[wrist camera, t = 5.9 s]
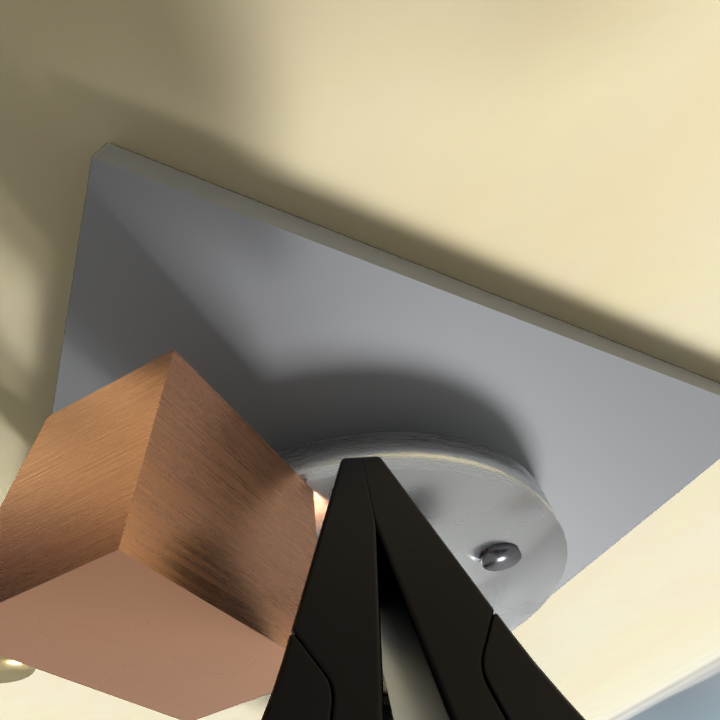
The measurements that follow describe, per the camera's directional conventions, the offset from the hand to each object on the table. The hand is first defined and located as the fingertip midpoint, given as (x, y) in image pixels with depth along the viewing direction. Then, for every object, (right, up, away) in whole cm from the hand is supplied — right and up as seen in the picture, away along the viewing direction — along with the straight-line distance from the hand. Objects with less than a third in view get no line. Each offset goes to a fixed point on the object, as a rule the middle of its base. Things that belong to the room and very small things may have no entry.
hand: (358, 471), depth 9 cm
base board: (0, -4, +9) cm, 10 cm away
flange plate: (-1, -3, +6) cm, 7 cm away
